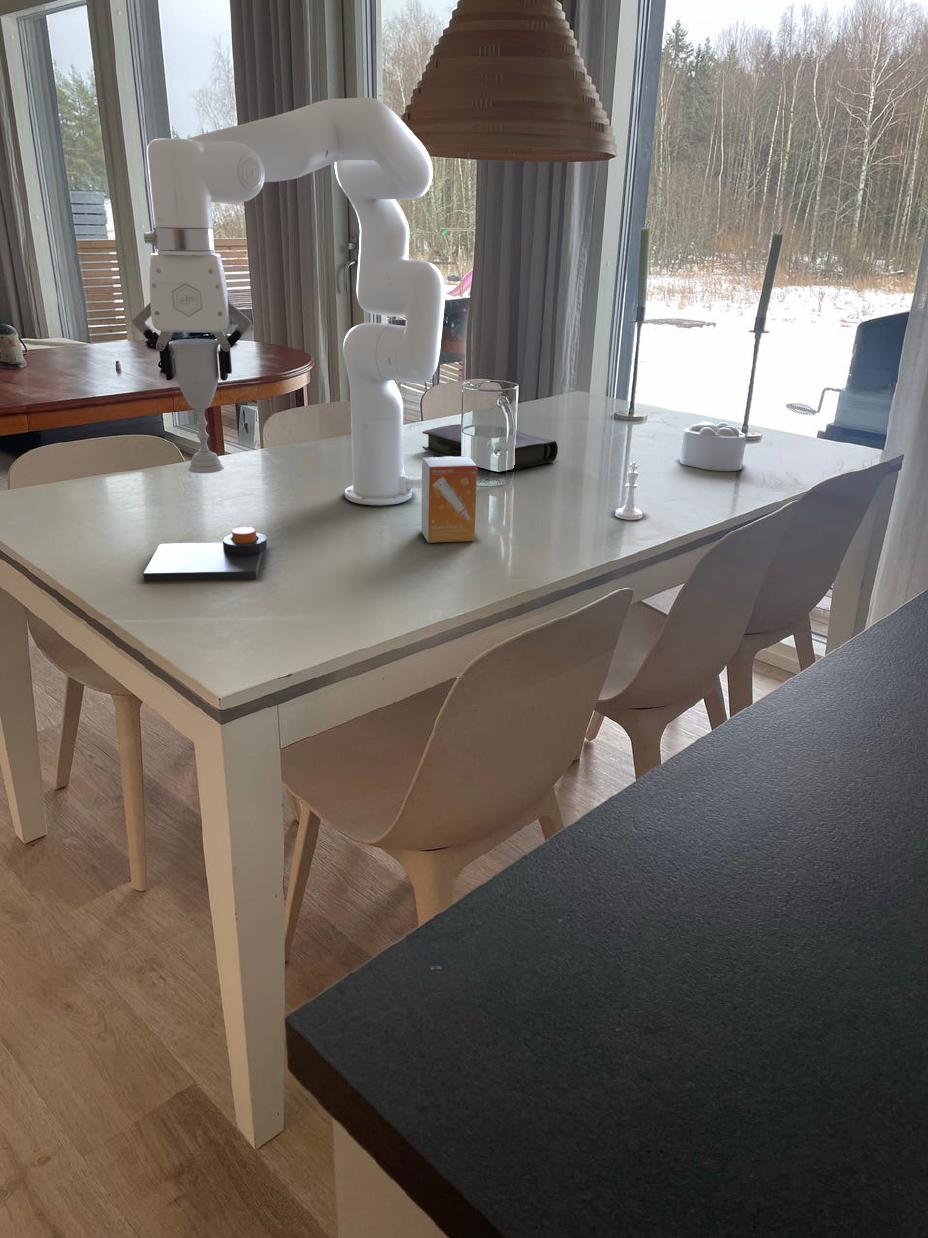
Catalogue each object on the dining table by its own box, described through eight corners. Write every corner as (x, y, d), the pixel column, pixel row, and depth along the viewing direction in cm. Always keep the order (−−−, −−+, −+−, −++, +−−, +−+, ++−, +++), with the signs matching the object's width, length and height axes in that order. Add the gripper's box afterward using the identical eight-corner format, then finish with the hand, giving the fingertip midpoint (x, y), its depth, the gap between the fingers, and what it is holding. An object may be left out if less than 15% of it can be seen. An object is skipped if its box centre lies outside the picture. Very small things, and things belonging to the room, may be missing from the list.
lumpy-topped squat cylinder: (697, 454, 212) (702, 416, 209) (750, 465, 204) (756, 426, 201) (674, 462, 205) (679, 423, 202) (728, 474, 197) (734, 433, 194)
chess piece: (625, 521, 166) (631, 466, 162) (609, 513, 170) (614, 459, 166) (647, 517, 168) (653, 463, 164) (631, 510, 172) (636, 457, 168)
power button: (257, 537, 146) (256, 526, 145) (255, 544, 143) (254, 533, 142) (234, 537, 146) (233, 526, 145) (231, 545, 142) (230, 534, 142)
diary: (480, 440, 221) (480, 419, 219) (557, 461, 204) (558, 438, 202) (419, 451, 209) (419, 429, 207) (496, 475, 192) (496, 451, 190)
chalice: (216, 476, 133) (205, 346, 125) (172, 473, 134) (158, 344, 126) (238, 464, 139) (228, 340, 132) (195, 461, 140) (184, 337, 133)
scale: (268, 549, 149) (267, 531, 147) (261, 579, 137) (260, 560, 135) (161, 551, 147) (159, 533, 146) (144, 582, 135) (141, 563, 134)
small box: (427, 544, 152) (428, 466, 147) (420, 532, 158) (421, 456, 153) (475, 541, 154) (478, 464, 149) (467, 529, 160) (468, 454, 155)
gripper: (111, 242, 120) (128, 383, 127) (248, 245, 122) (257, 383, 129) (124, 240, 126) (139, 374, 134) (254, 243, 128) (262, 374, 136)
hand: (197, 377), depth 131 cm, fingers closed on chalice, 6 cm apart
